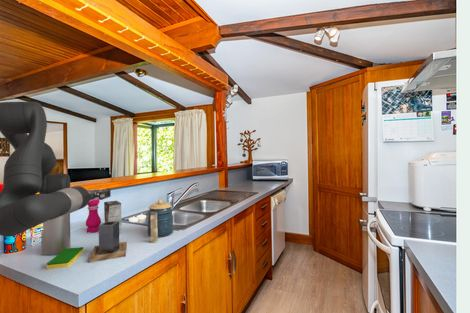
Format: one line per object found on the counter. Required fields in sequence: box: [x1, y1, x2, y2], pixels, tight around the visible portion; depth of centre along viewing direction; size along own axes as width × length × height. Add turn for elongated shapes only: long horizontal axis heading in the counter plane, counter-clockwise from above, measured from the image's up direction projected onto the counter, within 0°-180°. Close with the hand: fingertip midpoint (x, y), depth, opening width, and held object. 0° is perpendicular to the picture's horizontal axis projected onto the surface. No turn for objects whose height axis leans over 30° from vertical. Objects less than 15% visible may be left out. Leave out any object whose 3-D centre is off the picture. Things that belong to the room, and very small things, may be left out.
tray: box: [89, 241, 128, 263], centre depth 94 cm, size 12×12×2 cm
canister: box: [146, 199, 175, 238], centre depth 118 cm, size 13×13×18 cm
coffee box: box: [103, 200, 123, 235], centre depth 120 cm, size 9×6×16 cm
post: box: [150, 212, 159, 244], centre depth 106 cm, size 2×2×14 cm
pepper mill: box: [85, 199, 102, 234], centre depth 124 cm, size 7×7×20 cm
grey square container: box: [98, 221, 120, 255], centre depth 95 cm, size 6×7×12 cm
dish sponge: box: [46, 246, 85, 270], centre depth 89 cm, size 7×14×2 cm, turn 14°
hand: (96, 191), depth 85 cm, fingers open, 8 cm apart
